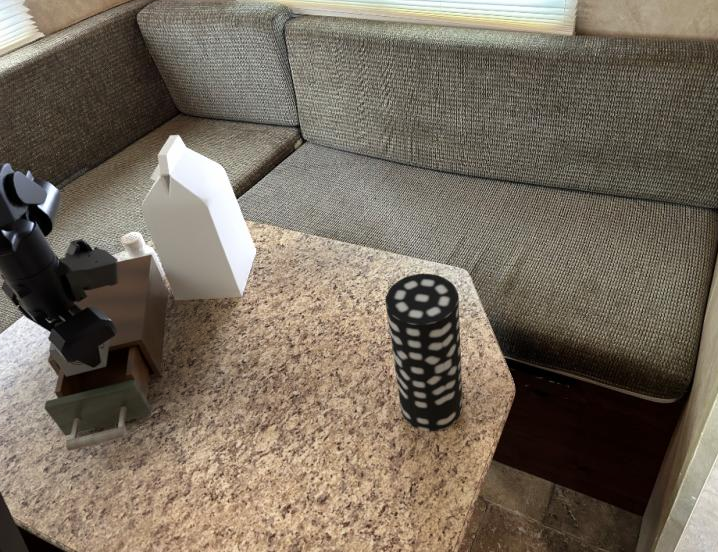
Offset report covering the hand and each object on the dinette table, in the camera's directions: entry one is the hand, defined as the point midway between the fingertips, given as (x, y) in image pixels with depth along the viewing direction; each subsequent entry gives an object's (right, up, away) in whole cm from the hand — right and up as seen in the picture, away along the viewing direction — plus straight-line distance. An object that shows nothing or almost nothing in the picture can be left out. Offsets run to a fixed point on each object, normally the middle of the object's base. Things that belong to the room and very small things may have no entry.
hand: (85, 352), depth 80 cm
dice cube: (0, -1, +1) cm, 1 cm away
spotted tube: (+46, -7, +1) cm, 47 cm away
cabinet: (-2, 0, +16) cm, 16 cm away
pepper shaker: (-2, +8, +27) cm, 28 cm away
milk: (+10, +9, +26) cm, 30 cm away
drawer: (0, -6, +8) cm, 10 cm away
